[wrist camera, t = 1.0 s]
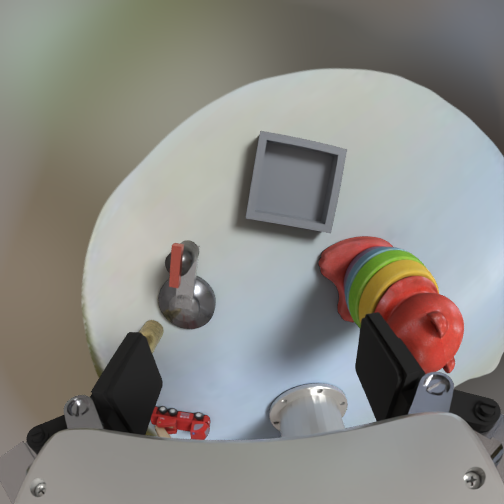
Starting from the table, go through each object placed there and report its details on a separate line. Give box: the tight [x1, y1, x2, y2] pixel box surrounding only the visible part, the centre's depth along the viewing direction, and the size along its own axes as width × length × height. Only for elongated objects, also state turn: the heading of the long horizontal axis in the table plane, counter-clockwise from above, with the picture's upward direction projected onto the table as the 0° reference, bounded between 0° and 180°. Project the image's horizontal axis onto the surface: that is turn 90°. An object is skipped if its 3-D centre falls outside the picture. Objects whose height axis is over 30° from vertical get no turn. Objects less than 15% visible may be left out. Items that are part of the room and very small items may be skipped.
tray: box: [246, 131, 347, 233], centre depth 28 cm, size 9×9×3 cm
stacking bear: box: [319, 236, 464, 374], centre depth 24 cm, size 11×10×18 cm
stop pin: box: [140, 320, 163, 353], centre depth 31 cm, size 3×3×8 cm
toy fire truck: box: [151, 406, 210, 440], centre depth 35 cm, size 3×14×10 cm, turn 85°
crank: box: [165, 241, 200, 322], centre depth 28 cm, size 11×4×6 cm, turn 171°
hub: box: [158, 276, 216, 329], centre depth 33 cm, size 7×7×1 cm
